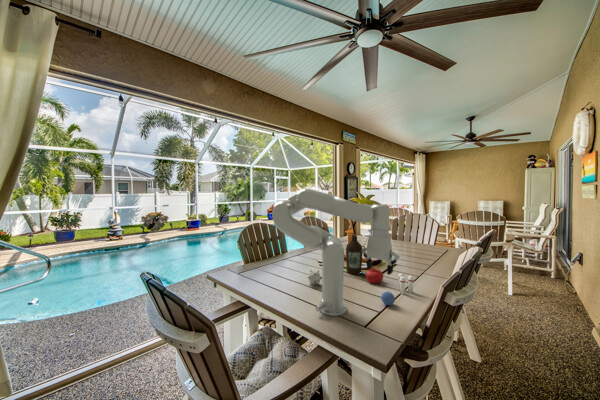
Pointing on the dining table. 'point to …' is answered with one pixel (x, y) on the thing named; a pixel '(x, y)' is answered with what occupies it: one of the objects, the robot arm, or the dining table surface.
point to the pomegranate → (374, 276)
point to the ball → (388, 298)
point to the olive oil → (354, 256)
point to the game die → (314, 277)
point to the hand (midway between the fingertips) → (379, 271)
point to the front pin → (402, 285)
